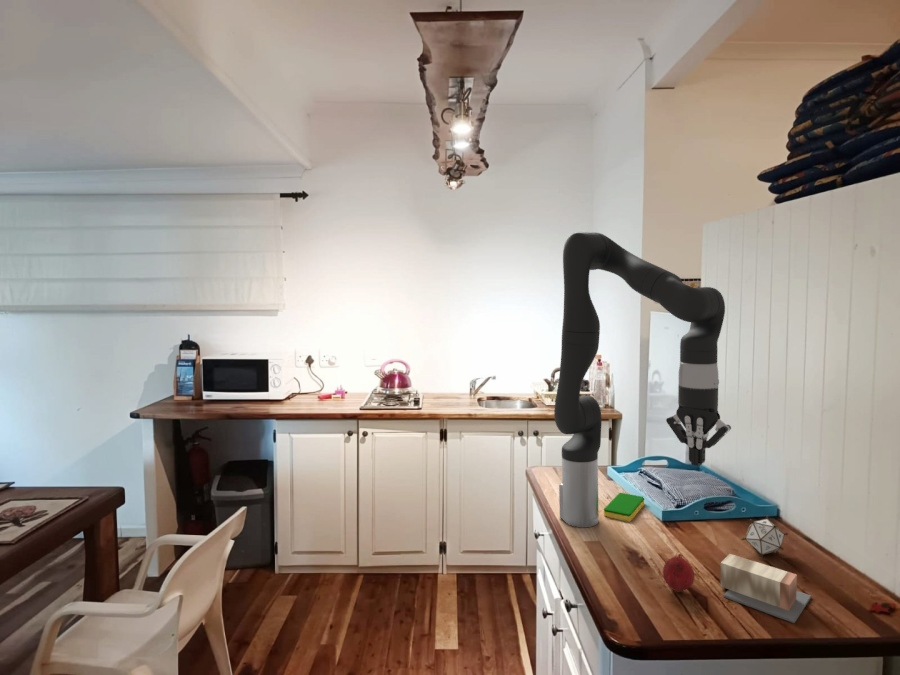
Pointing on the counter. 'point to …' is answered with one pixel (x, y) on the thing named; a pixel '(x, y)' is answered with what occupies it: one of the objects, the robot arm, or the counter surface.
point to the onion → (678, 573)
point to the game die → (764, 536)
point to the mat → (771, 609)
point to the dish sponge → (624, 507)
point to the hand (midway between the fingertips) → (697, 464)
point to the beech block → (759, 581)
